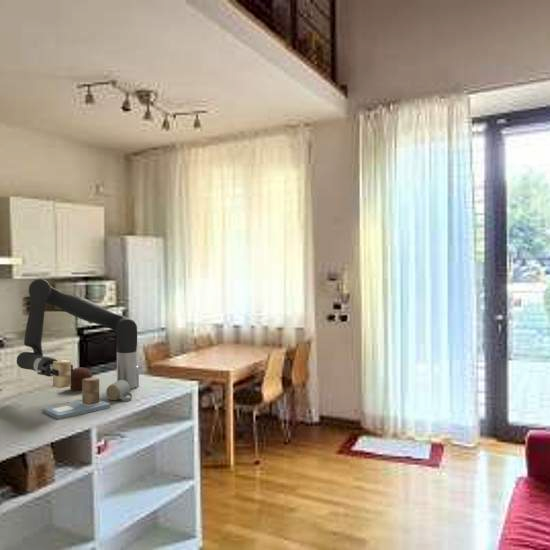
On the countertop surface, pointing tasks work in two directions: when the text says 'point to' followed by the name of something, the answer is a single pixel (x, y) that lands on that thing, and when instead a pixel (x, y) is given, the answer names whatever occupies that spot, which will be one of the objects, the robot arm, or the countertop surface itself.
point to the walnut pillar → (90, 391)
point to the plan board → (74, 409)
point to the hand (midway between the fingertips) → (65, 372)
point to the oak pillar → (62, 374)
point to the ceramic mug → (119, 391)
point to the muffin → (79, 378)
